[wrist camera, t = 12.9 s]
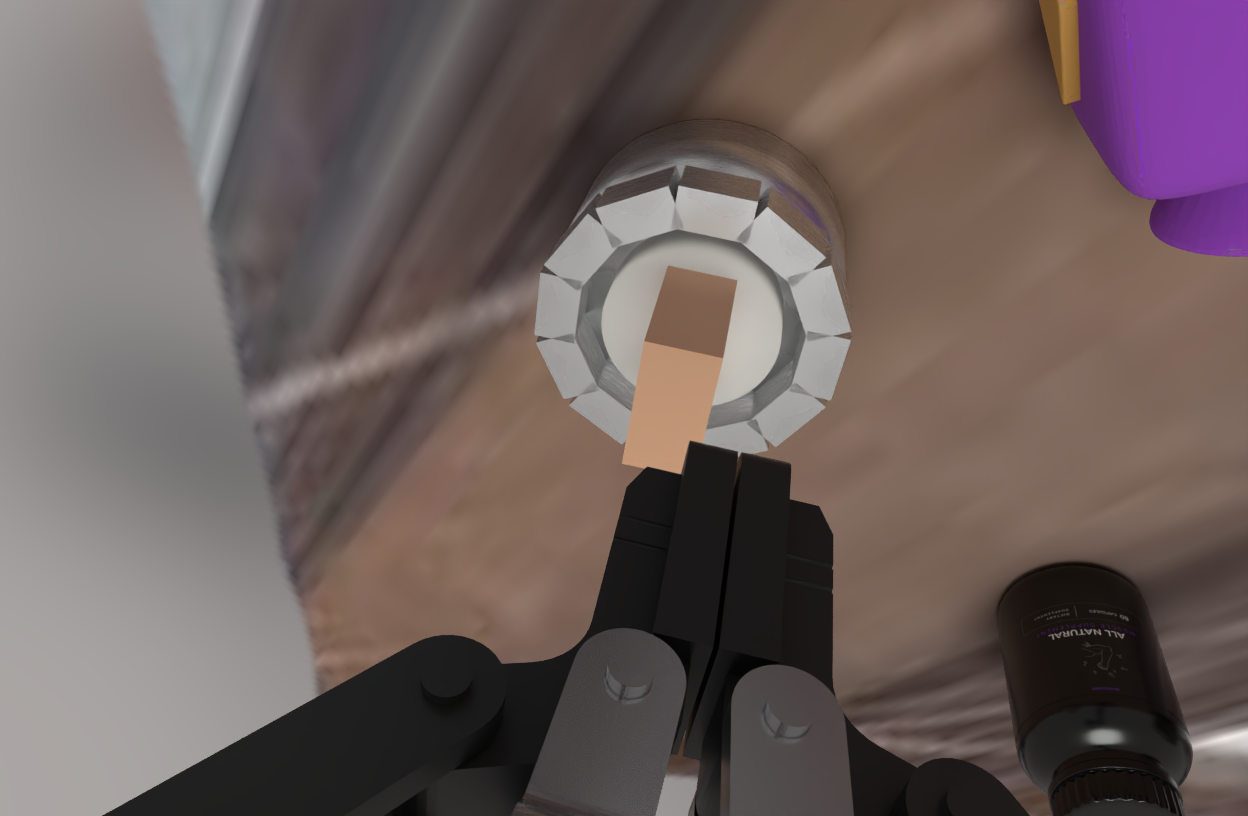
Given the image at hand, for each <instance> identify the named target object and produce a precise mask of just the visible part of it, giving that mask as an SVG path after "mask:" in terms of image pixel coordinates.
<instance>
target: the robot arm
mask: <svg viewBox="0 0 1248 816" xmlns="http://www.w3.org/2000/svg"><path fill="white" fill-rule="evenodd" d="M737 460H738V462H737ZM790 482H791V464H790V463H787V462H783V461H779V460H774V459H770V458H766V457H761V456H757V455H753V454H748V453H744V452H741V454H740V456H739V459H738V451H734V450H730V449H726V448H721V447H717V446H713V445H708V444H704V443H700V442H695V441H691V440H690V441H689V444H688V448H687V452H686V456H685V460H684V464H683V468H682V472H681V474H678V473H673V472H669V471H665V470H660V469H656V468H652V467H648V466H647V467H646V468H645V469H644V470H643V471H642V472H641V473H640V474H639V475H638V476H637V477H636V478H635V479H634V480H633V481H632V482H631V483H630V484H629V485H628V486H627V488H626V492H625V496H624V500H623V504H622V508H621V511H620V515H619V520H618V523H617V527H616V531H615V534H614V539H613V542H612V546H611V550H610V554H609V557H608V561H607V565H606V569H605V573H604V577H603V581H602V584H601V588H600V592H599V596H598V600H597V604H596V607H595V611H594V615H593V619H592V622H591V625H590V628H589V630H588V631H587V633H586V635H585V636H584V637H583V639H582V640H581V641H580V642H579V643H578V644H577V645H576V646H575V647H573V648H572V649H571V650H569V651H567V652H566V653H564V654H562V655H560V656H557V657H555V658H552V659H548V660H545V661H538V662H528V663H510V664H501V662H500V661H499V659H498V658H497V656H496V655H495V654H494V653H493V652H492V651H491V650H490V649H489V648H487V647H486V646H484V645H483V644H481V643H479V642H477V641H475V640H473V639H470V638H466V637H463V636H456V635H440V636H434V637H430V638H426V639H423V640H421V641H419V642H416V643H414V644H412V645H410V646H409V647H407V648H405V649H403V650H401V651H400V652H398V653H396V654H394V655H392V656H391V657H389V658H387V659H385V660H383V661H381V662H380V663H378V664H376V665H374V666H372V667H371V668H369V669H367V670H365V671H363V672H362V673H360V674H358V675H356V676H354V677H353V678H351V679H349V680H347V681H345V682H343V683H342V684H340V685H338V686H336V687H334V688H333V689H331V690H329V691H327V692H325V693H324V694H322V695H320V696H318V697H316V698H315V699H313V700H311V701H309V702H307V703H305V704H304V705H302V706H300V707H298V708H296V709H295V710H293V711H291V712H289V713H287V714H286V715H284V716H282V717H280V718H279V719H277V720H275V721H273V722H271V723H269V724H268V725H266V726H264V727H262V728H260V729H258V730H257V731H255V732H253V733H251V734H249V735H248V736H246V737H244V738H242V739H240V740H239V741H237V742H235V743H233V744H231V745H229V746H228V747H226V748H224V749H222V750H220V751H219V752H217V753H215V754H213V755H211V756H210V757H208V758H206V759H204V760H202V761H201V762H199V763H197V764H195V765H193V766H191V767H190V768H188V769H186V770H184V771H182V772H181V773H179V774H177V775H175V776H173V777H172V778H170V779H168V780H166V781H164V782H163V783H161V784H159V785H157V786H155V787H153V788H152V789H150V790H148V791H146V792H145V793H143V794H141V795H139V796H137V797H136V798H134V799H132V800H130V801H128V802H126V803H125V804H123V805H121V806H119V807H117V808H116V809H114V810H112V811H110V812H108V813H106V814H105V815H103V816H655V814H656V810H657V806H658V802H659V798H660V794H661V790H662V786H663V782H664V778H665V774H666V770H667V766H668V763H669V760H670V757H671V754H675V755H677V754H678V751H679V748H680V745H681V742H682V739H683V736H684V733H685V730H686V733H685V740H684V747H683V754H682V756H684V757H689V758H693V759H697V760H700V767H699V775H698V783H697V790H696V793H695V796H694V799H693V801H692V804H691V806H690V809H689V813H688V816H1030V815H1029V814H1028V813H1027V812H1026V811H1025V809H1024V808H1023V807H1022V806H1021V805H1020V803H1019V802H1018V801H1017V800H1016V799H1015V797H1014V796H1013V795H1012V794H1011V793H1010V791H1009V790H1008V789H1007V788H1006V787H1005V786H1004V785H1003V784H1002V783H1001V782H1000V781H999V780H997V779H996V778H995V777H994V776H993V775H991V774H990V773H988V772H987V771H985V770H984V769H982V768H980V767H978V766H976V765H974V764H971V763H969V762H966V761H963V760H958V759H953V758H940V759H934V760H931V761H928V762H925V763H924V764H922V765H921V766H919V767H918V768H917V767H915V766H913V765H911V764H910V763H908V762H906V761H904V760H902V759H901V758H899V757H897V756H895V755H894V754H892V753H890V752H888V751H886V750H885V749H883V748H881V747H879V746H878V745H876V744H875V743H873V742H872V741H870V740H869V739H867V738H866V737H865V736H864V735H863V734H861V733H860V732H859V731H858V730H857V729H856V728H855V727H854V726H853V725H852V724H851V722H850V721H849V720H848V718H847V717H846V716H845V714H844V713H843V711H842V709H841V706H840V704H839V702H838V701H837V699H836V696H835V692H834V688H833V679H832V664H833V594H832V589H833V570H832V566H833V534H832V532H831V530H830V528H829V525H828V523H827V521H826V519H825V517H824V515H823V513H822V511H821V509H820V507H819V506H816V505H812V504H808V503H803V502H799V501H795V500H790Z"/></svg>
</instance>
